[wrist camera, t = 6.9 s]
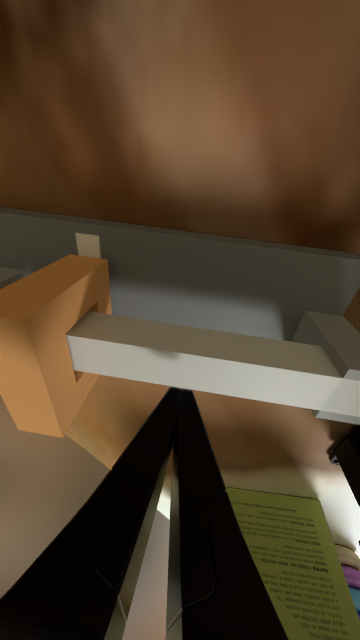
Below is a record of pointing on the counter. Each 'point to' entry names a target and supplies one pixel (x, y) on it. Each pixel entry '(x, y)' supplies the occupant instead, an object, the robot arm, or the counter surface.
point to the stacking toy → (351, 572)
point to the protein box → (297, 564)
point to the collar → (48, 341)
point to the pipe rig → (205, 310)
